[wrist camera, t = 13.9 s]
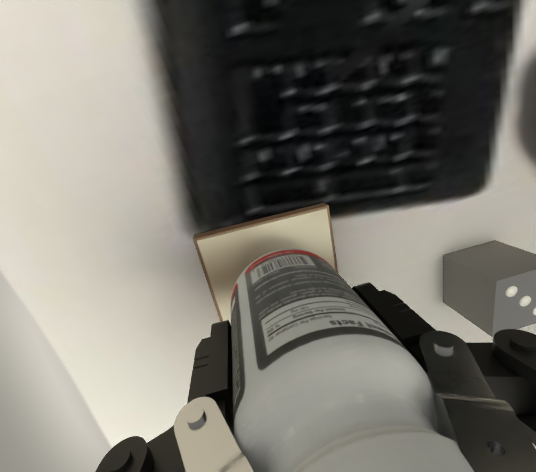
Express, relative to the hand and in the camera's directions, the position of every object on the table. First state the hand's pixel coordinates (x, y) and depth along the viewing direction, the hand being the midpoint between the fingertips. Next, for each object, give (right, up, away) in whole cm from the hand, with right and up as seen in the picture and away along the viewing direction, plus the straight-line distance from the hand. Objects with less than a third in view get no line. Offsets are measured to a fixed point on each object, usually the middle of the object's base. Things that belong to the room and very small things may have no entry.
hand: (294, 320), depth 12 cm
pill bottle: (0, +1, +2) cm, 2 cm away
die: (+14, +1, +8) cm, 16 cm away
